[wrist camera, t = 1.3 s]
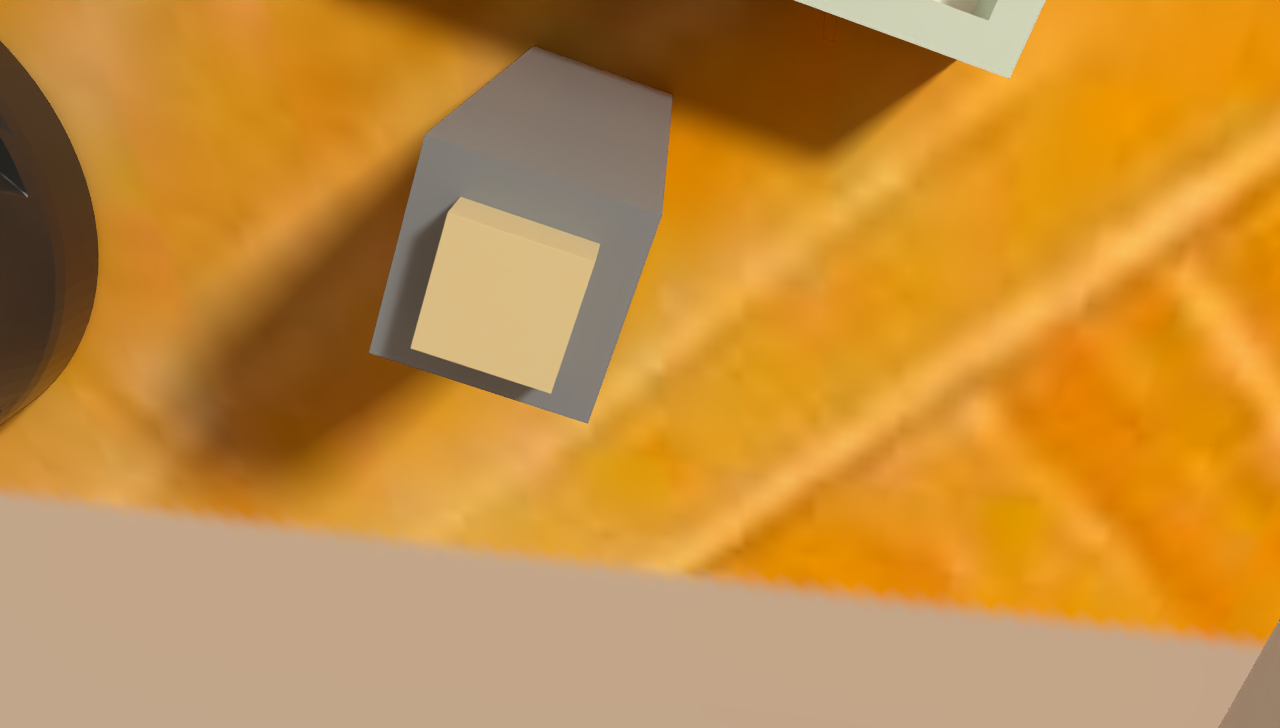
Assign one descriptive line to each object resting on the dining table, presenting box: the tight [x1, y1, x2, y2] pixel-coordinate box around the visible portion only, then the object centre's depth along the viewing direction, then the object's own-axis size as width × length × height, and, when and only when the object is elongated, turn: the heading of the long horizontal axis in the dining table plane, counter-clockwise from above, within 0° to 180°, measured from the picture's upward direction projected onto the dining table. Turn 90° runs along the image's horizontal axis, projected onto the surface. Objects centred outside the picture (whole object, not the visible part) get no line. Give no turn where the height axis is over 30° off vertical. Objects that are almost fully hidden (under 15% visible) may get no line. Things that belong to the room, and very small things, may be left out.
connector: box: [369, 46, 673, 423], centre depth 24 cm, size 4×4×14 cm
